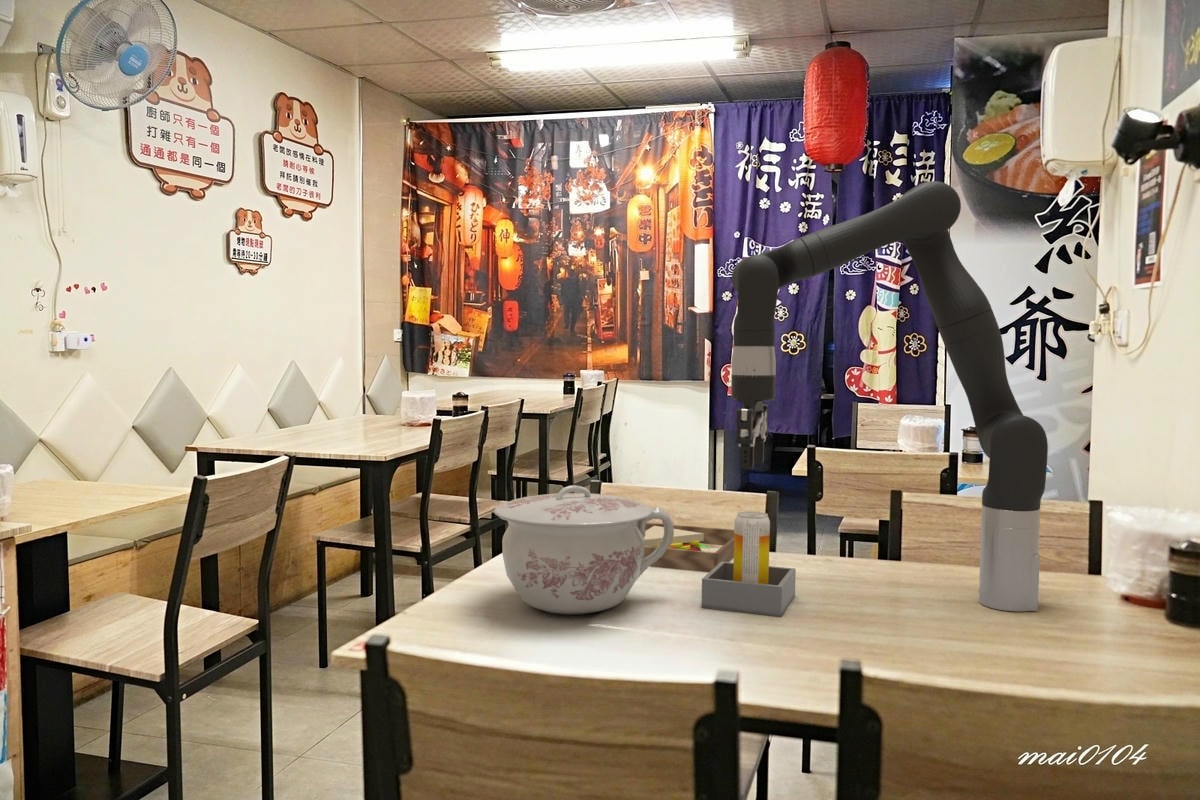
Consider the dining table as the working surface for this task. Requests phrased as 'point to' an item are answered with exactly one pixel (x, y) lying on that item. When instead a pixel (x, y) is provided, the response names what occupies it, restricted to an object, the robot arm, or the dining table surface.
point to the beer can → (751, 547)
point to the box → (748, 591)
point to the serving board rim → (696, 558)
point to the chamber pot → (577, 548)
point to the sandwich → (675, 539)
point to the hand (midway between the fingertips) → (752, 466)
